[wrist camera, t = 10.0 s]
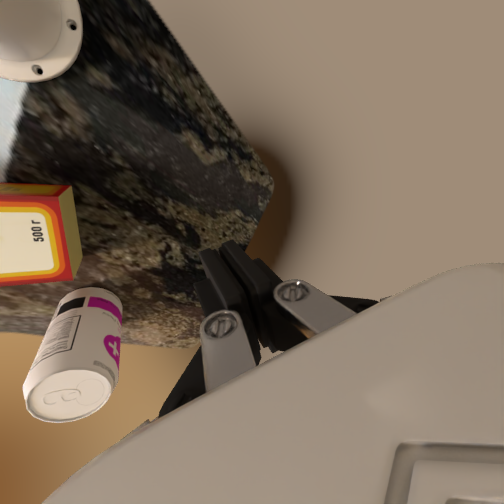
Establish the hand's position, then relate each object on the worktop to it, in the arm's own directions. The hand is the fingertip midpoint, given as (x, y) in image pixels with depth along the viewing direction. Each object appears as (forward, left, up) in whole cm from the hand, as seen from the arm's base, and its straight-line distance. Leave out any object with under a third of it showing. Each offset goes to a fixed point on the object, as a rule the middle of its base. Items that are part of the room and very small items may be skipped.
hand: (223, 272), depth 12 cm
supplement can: (+14, -17, -27) cm, 35 cm away
